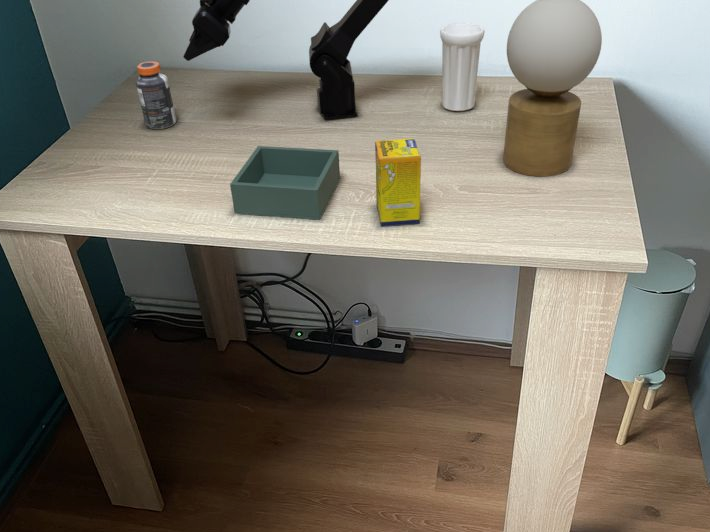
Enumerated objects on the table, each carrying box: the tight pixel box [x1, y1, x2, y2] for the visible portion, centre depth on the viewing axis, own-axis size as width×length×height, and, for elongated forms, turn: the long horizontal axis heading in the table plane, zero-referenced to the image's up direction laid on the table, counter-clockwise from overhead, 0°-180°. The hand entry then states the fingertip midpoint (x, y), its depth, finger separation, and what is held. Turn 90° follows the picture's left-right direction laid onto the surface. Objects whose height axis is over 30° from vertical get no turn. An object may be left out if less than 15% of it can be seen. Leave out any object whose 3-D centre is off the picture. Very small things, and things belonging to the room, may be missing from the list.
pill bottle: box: [135, 61, 177, 130], centre depth 137 cm, size 6×6×11 cm
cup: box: [439, 22, 486, 112], centre depth 137 cm, size 8×8×14 cm
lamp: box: [502, 0, 603, 177], centre depth 115 cm, size 15×14×25 cm
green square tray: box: [229, 145, 341, 221], centre depth 114 cm, size 14×14×5 cm
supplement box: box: [374, 137, 422, 228], centre depth 106 cm, size 6×6×11 cm
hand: (188, 50), depth 132 cm, fingers open, 9 cm apart
